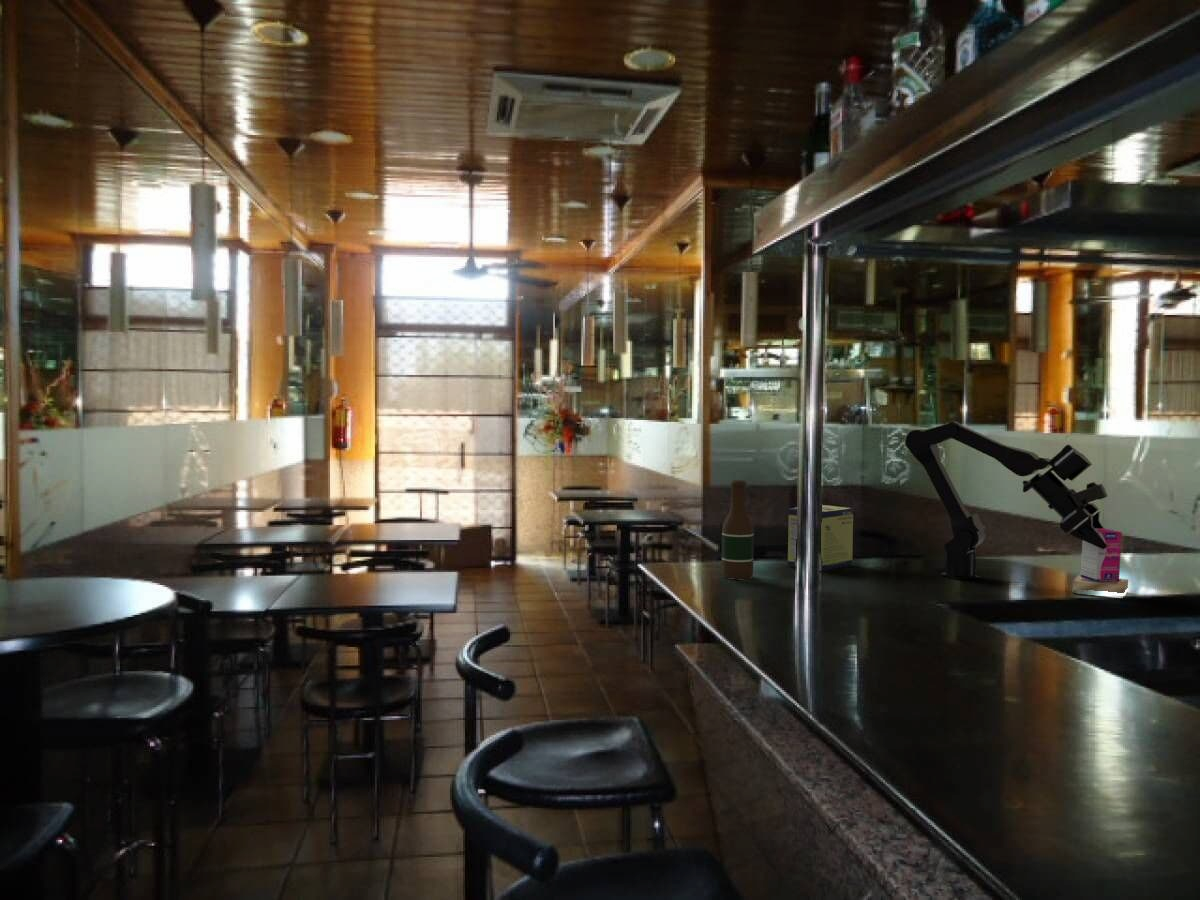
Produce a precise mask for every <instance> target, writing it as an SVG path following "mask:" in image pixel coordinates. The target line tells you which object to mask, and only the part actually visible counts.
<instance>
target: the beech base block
mask: <svg viewBox="0 0 1200 900" xmlns="http://www.w3.org/2000/svg"><path fill="white" fill-rule="evenodd" d="M1127 588H1128V589H1129V579H1127V578H1119V581H1092V580H1089V579H1086V578H1082V577H1081V574H1078V575H1077V576H1076V577H1075V578H1074V579H1073V580H1072V591H1073V590H1087V591H1088V590H1094V591H1108V592H1117V593H1124V592H1125V590H1126V589H1127Z"/></svg>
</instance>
